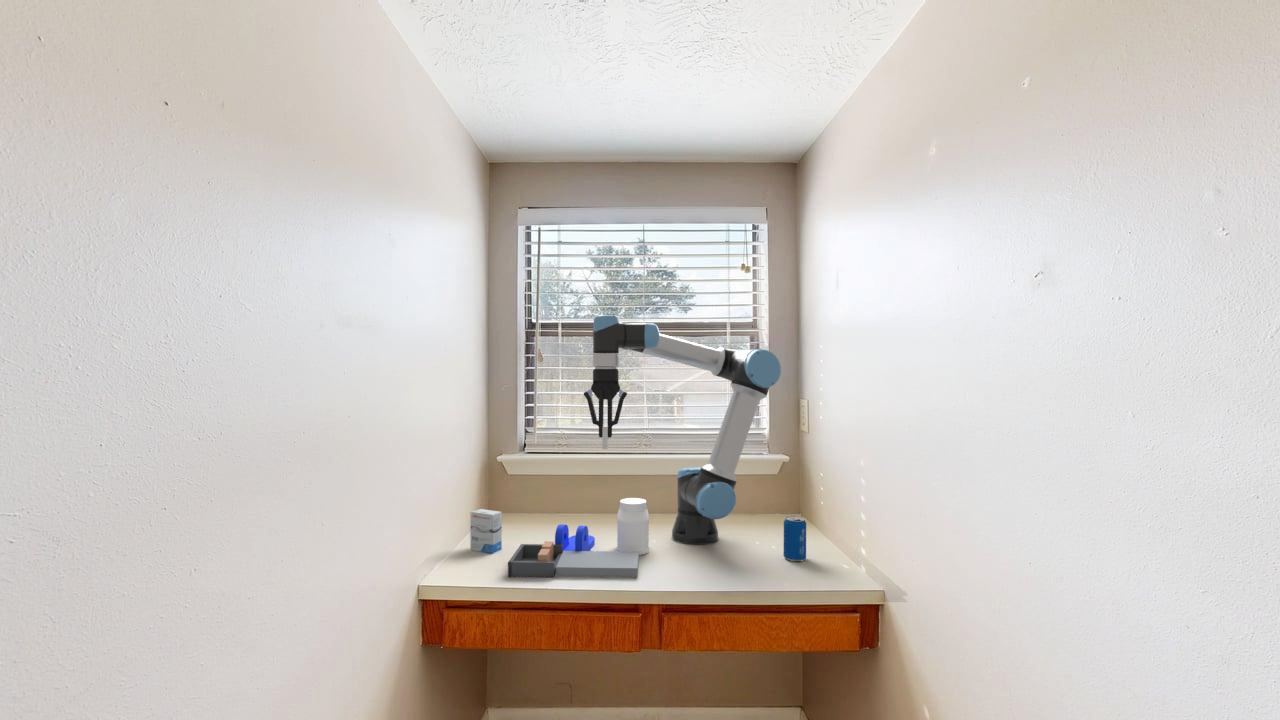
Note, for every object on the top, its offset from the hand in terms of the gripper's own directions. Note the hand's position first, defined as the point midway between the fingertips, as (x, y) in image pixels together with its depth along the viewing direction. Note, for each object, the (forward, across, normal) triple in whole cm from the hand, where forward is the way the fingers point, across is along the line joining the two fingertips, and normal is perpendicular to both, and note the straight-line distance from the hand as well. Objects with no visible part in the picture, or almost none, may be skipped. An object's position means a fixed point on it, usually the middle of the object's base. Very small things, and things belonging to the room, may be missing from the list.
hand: (605, 448), depth 178 cm
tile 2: (+29, +15, +12) cm, 35 cm away
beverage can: (+33, -56, -2) cm, 65 cm away
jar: (+33, -8, -9) cm, 35 cm away
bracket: (+33, +9, -9) cm, 35 cm away
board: (+32, +1, +8) cm, 33 cm away
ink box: (+33, +37, -7) cm, 50 cm away
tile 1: (+29, +15, +4) cm, 33 cm away
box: (+32, +18, +8) cm, 38 cm away
